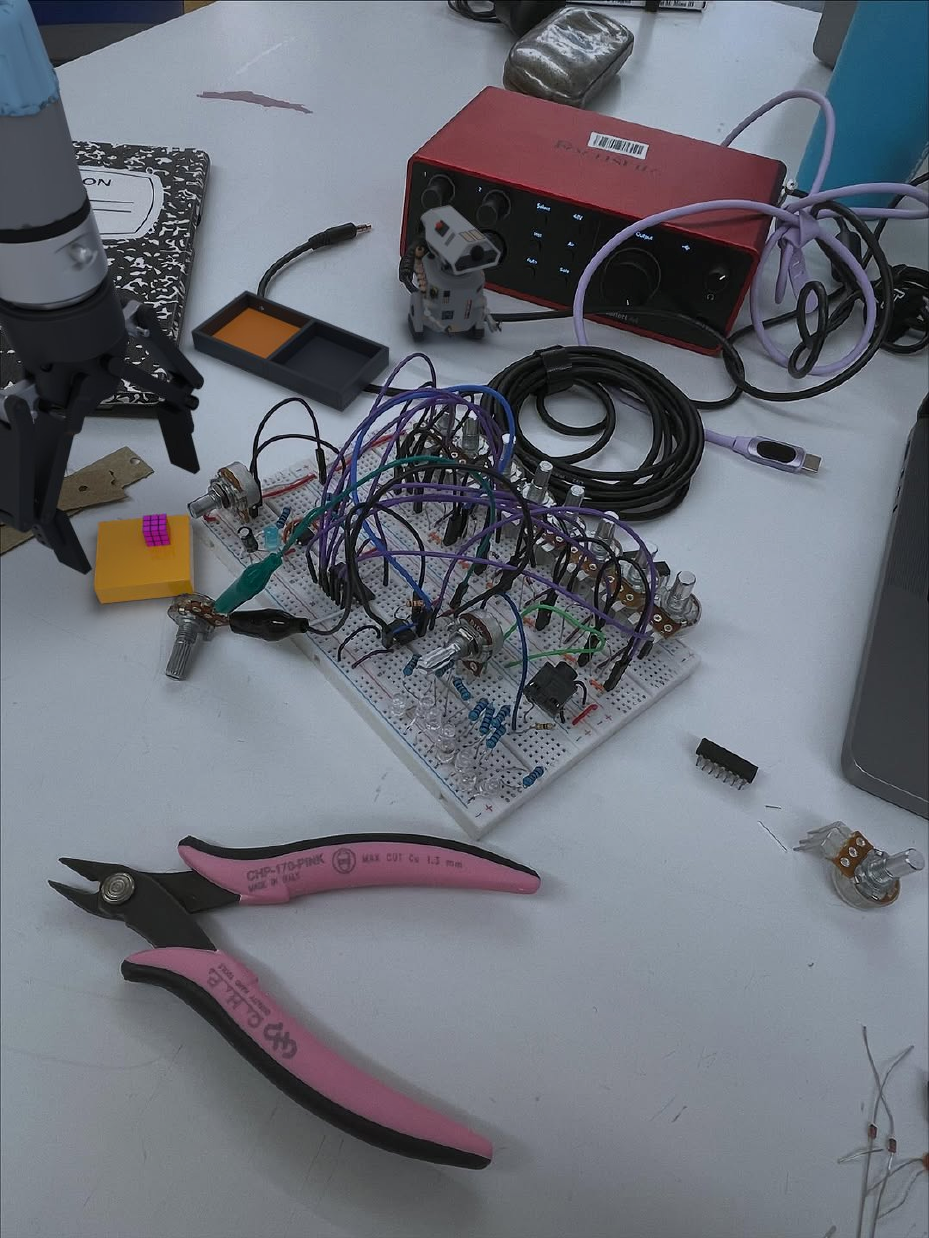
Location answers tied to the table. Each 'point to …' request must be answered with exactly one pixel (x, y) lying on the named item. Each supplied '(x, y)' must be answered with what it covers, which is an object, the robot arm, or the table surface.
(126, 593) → the orange box
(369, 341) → the divided tray
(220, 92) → the table surface
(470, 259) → the figurine
